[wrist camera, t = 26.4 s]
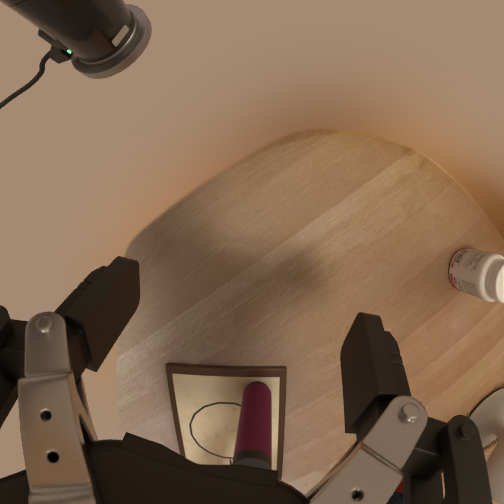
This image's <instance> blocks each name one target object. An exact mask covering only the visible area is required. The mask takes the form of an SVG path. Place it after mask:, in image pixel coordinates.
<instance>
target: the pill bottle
mask: <svg viewBox="0 0 504 504" xmlns="http://www.w3.org/2000/svg"><path fill="white" fill-rule="evenodd" d="M449 276H450V280H451V282H452V284H453V285H454V286H455V287H456V288H457V289H459V290H461V291H463V292H466V293H468V294H471V295H473V296H475V297H478V298H480V299H483V300H485V301H488V302H494V301H497V302H501V303H504V257H503V256H501V255H498V254H494V253H489V252H484V251H479V250H473V249H462V250H460V251H458V252H457V253H456V254H455V255H454V257H453V258H452V261H451V263H450V268H449Z"/></svg>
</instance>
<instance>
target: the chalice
mask: <svg viewBox="0 0 504 504" xmlns="http://www.w3.org/2000/svg"><path fill="white" fill-rule="evenodd" d="M469 418H470V419H471V420H472V421H473V422H474V423H475V424H476V426H477V428H478V430H479V433H480V438H481V442H482V446H483V447H485V446H487V445H489V444H490V443H491V442H493V441H494V440H495V439H496V438H498V443H497V445H496V447H495V448H494V450H493V451H492V453H491V454H490V456H489V458H488V460H487V462H486V466H487V471H488V477H489V483H490V489H491V497H492V499H493V500H494V501H496V502H498V503H501V504H504V388H502V389H500V390H498V391H496V392H494V393H493V394H492V395H490V396H489V397H488V398H486V399H485V400H484V401H483V402H482V403H481V404H480V405H479V406H478V407H477V408H476V410H475V411H474V412H473V413H472V415H471V416H470V417H469Z"/></svg>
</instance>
